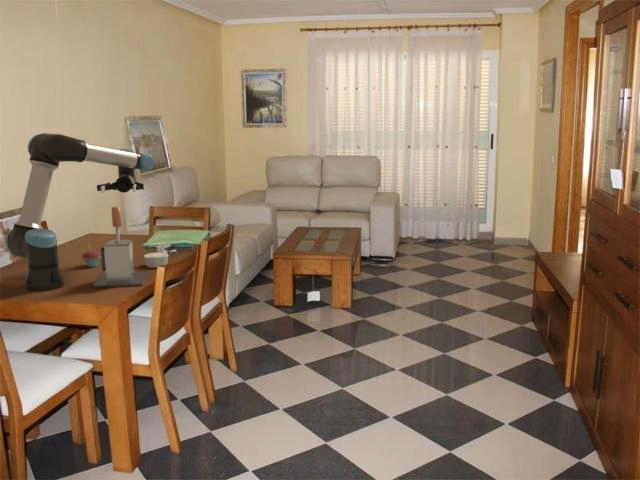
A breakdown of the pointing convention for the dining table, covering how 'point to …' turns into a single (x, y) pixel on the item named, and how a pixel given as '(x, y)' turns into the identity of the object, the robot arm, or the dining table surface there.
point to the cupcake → (91, 257)
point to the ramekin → (156, 259)
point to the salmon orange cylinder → (116, 221)
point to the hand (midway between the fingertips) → (117, 189)
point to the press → (118, 266)
